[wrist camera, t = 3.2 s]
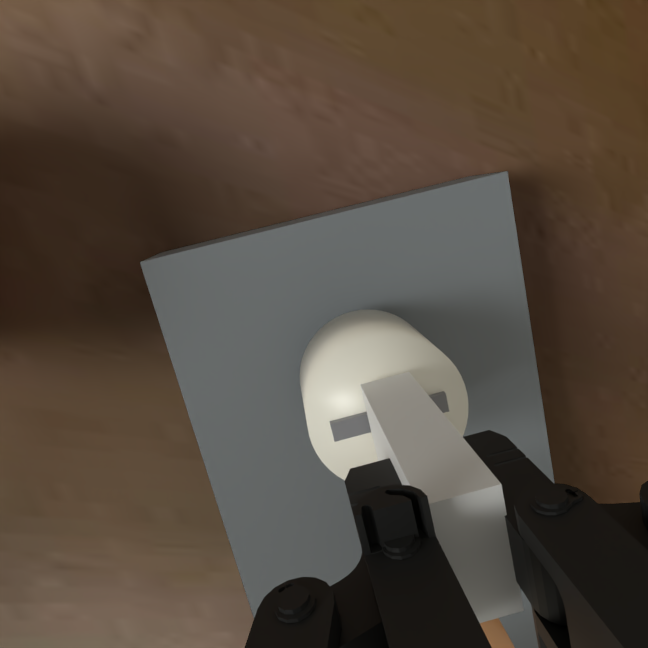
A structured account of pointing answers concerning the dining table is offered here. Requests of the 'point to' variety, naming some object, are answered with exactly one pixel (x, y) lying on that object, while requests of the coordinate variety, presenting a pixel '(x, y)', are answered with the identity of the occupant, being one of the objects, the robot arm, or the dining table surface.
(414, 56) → the dining table surface
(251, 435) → the control box
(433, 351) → the knob
